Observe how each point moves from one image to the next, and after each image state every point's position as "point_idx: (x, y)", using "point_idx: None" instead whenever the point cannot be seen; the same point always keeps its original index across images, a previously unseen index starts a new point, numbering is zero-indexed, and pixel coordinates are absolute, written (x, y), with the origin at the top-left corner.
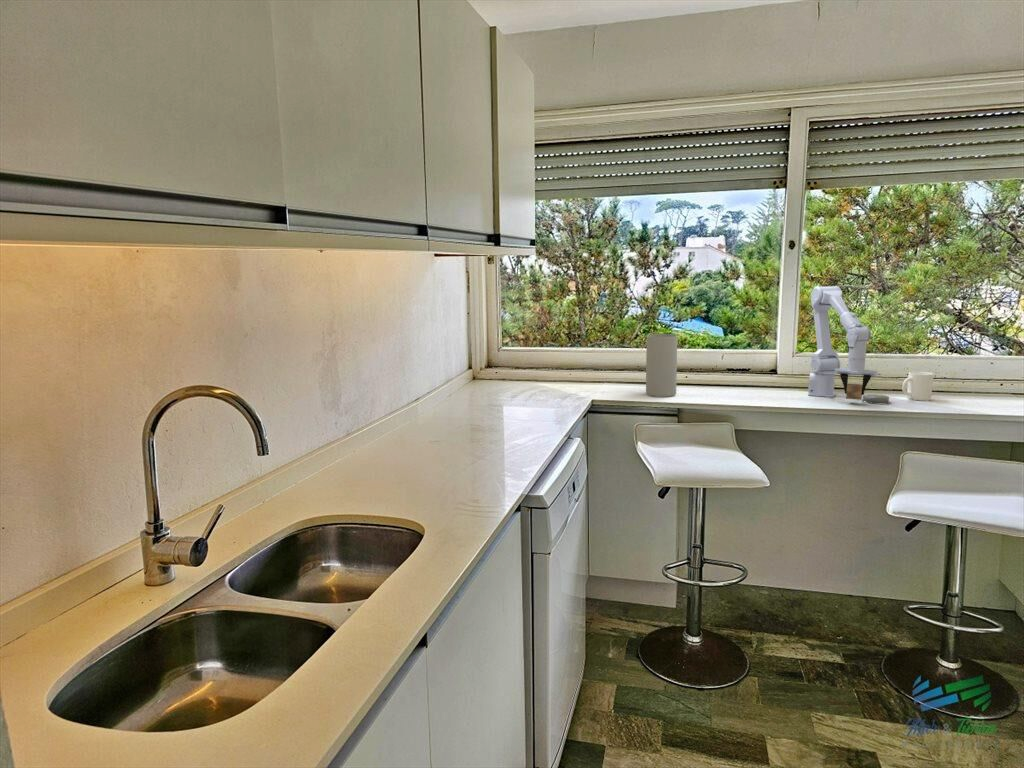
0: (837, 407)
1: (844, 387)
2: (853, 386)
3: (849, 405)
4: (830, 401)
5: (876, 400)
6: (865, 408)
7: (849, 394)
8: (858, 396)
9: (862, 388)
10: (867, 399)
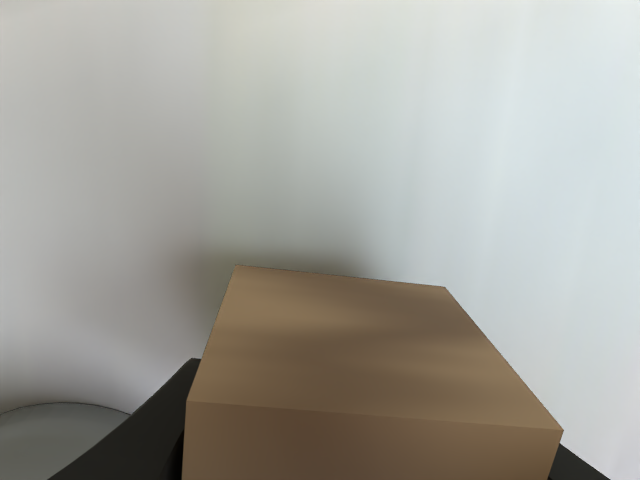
0: (560, 5)
1: (564, 450)
2: (402, 412)
3: (380, 207)
4: (564, 385)
5: (40, 433)
6: (182, 47)
7: (422, 311)
8: (270, 288)
9: (180, 424)
10: None
